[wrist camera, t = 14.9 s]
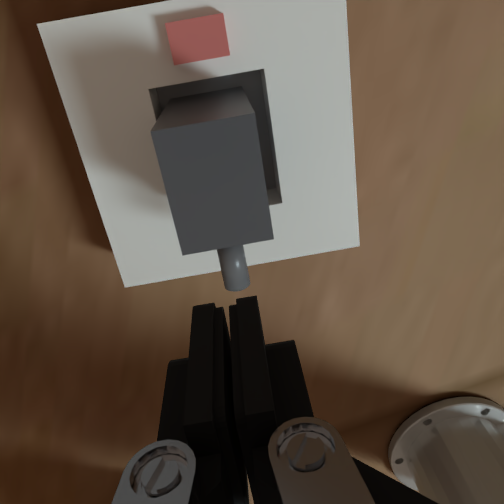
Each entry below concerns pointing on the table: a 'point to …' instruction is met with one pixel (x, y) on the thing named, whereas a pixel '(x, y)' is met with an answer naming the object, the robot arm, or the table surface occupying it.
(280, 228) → the socket
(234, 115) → the plug
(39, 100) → the table surface
